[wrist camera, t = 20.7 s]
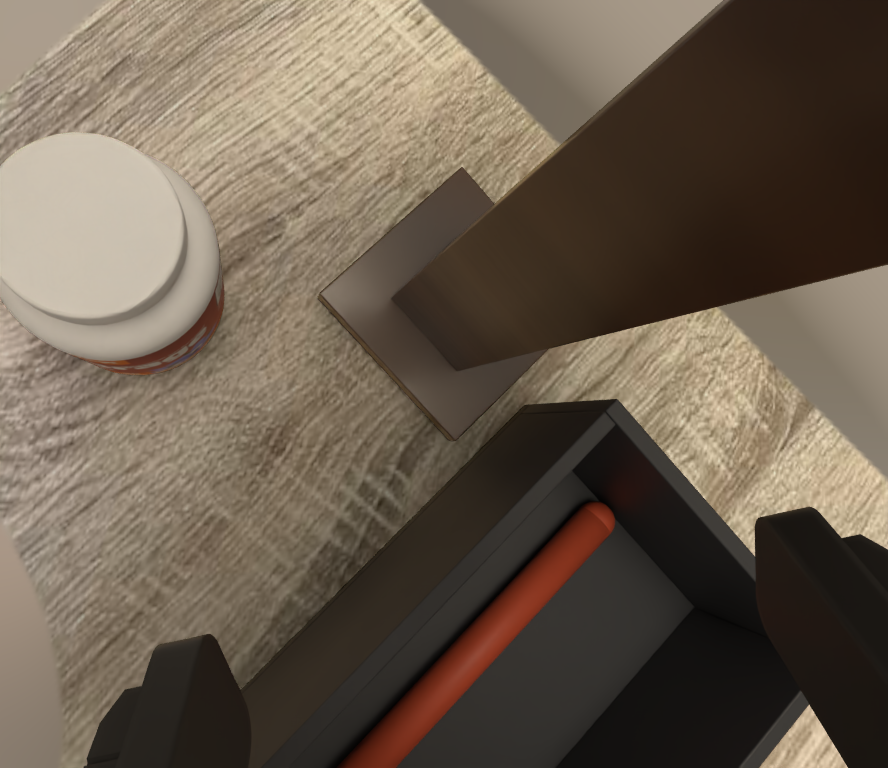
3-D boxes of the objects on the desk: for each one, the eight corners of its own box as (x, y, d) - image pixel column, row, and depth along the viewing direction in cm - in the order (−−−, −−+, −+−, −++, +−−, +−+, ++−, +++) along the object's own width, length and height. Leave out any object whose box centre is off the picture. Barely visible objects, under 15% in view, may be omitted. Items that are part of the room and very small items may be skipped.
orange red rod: (323, 844, 30) (316, 856, 28) (295, 811, 30) (286, 820, 28) (618, 523, 33) (626, 517, 32) (590, 496, 33) (596, 490, 32)
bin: (377, 981, 31) (425, 1190, 22) (155, 774, 29) (118, 915, 21) (703, 603, 35) (845, 659, 27) (525, 404, 33) (617, 397, 25)
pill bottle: (66, 388, 29) (-40, 367, 18) (41, 224, 29) (-80, 108, 18) (237, 364, 31) (231, 332, 20) (213, 209, 31) (194, 93, 20)
